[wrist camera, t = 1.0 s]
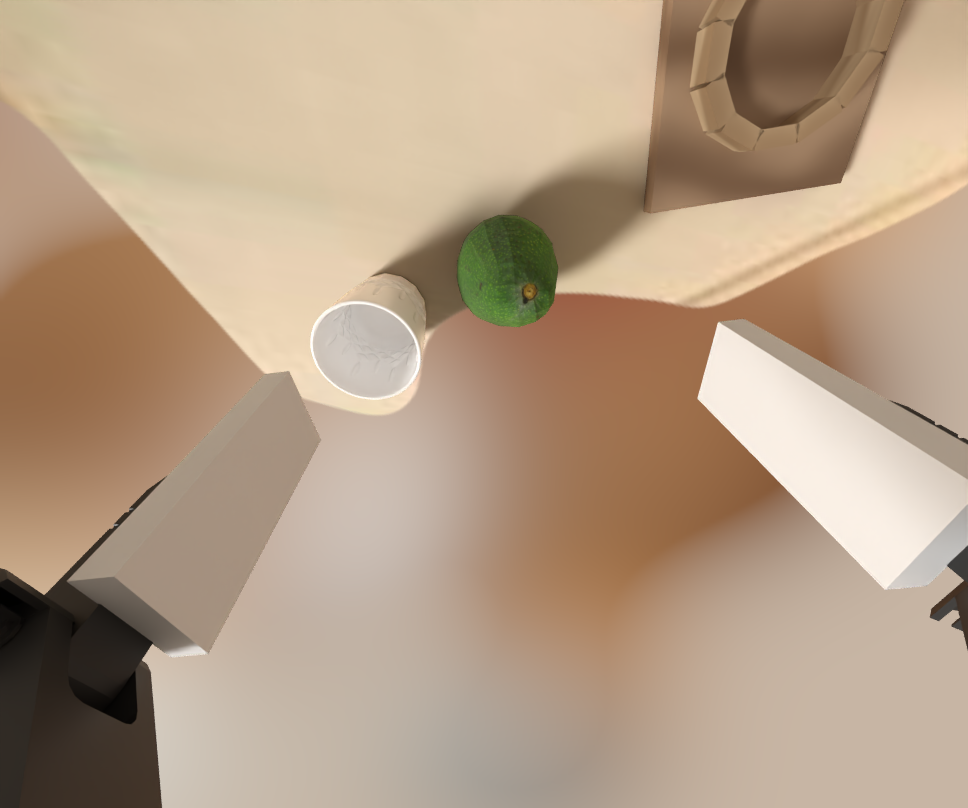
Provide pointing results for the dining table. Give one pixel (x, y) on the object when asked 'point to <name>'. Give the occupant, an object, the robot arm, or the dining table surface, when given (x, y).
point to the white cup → (372, 338)
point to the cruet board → (760, 95)
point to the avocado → (507, 271)
